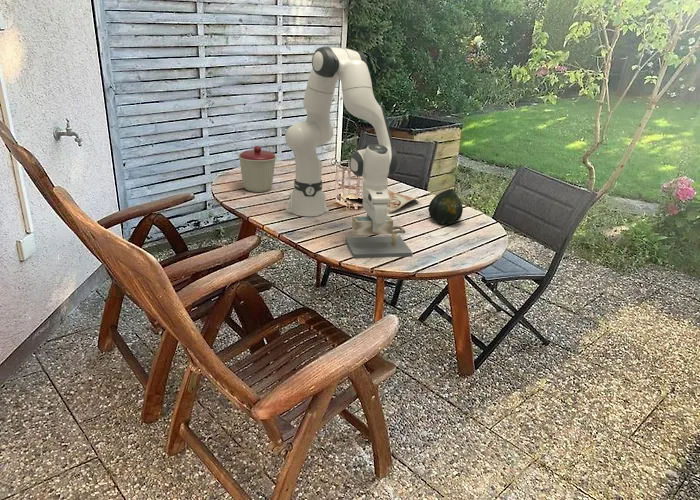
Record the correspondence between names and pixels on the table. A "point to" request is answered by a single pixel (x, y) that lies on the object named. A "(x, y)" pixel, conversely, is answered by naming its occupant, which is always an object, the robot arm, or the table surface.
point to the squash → (446, 207)
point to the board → (378, 247)
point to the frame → (365, 225)
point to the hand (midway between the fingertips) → (372, 227)
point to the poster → (397, 201)
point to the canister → (257, 169)
